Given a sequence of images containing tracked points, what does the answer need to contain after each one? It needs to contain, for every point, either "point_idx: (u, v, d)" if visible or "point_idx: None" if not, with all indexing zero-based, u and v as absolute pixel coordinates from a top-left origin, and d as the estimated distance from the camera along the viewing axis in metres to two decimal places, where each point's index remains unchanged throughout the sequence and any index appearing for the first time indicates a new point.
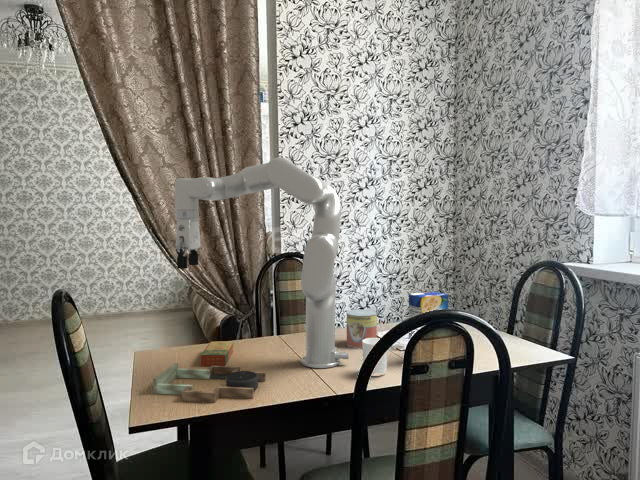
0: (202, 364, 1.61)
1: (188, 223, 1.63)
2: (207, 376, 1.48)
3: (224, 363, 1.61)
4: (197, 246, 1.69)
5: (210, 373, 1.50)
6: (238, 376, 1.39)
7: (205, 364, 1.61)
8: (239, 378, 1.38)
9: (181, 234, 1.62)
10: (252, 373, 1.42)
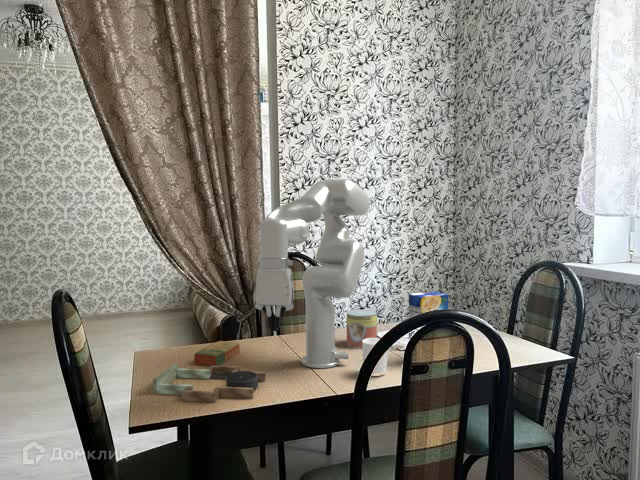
0: (195, 363, 1.62)
1: None
2: (207, 376, 1.48)
3: (215, 364, 1.60)
4: None
5: (210, 373, 1.50)
6: (238, 376, 1.39)
7: (198, 363, 1.62)
8: (239, 378, 1.38)
9: (292, 286, 1.37)
10: (252, 373, 1.42)
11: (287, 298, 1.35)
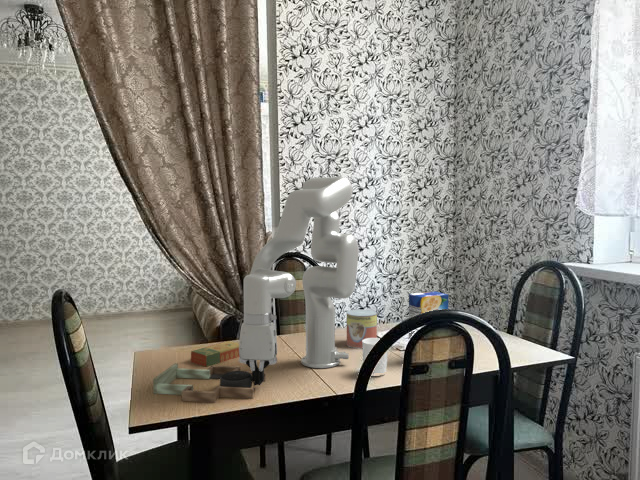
0: (192, 360, 1.65)
1: None
2: (207, 376, 1.48)
3: (205, 364, 1.60)
4: None
5: (210, 373, 1.50)
6: (232, 376, 1.39)
7: (193, 361, 1.64)
8: (234, 378, 1.38)
9: (275, 340, 1.39)
10: (246, 373, 1.42)
11: (270, 353, 1.37)
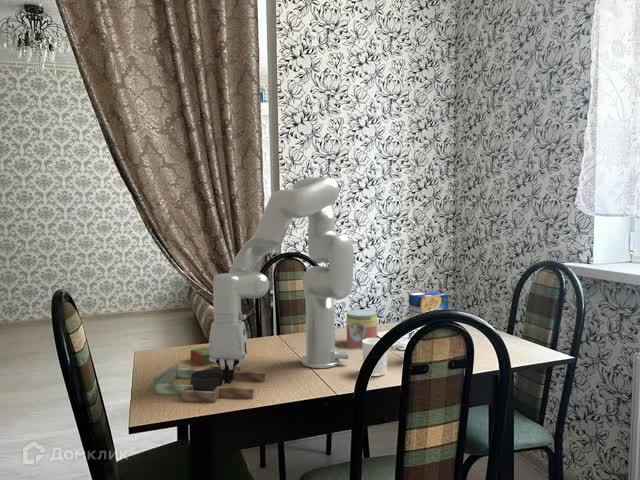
0: (191, 359, 1.66)
1: None
2: None
3: (201, 363, 1.61)
4: None
5: None
6: (203, 374, 1.40)
7: (192, 360, 1.65)
8: (204, 376, 1.39)
9: (245, 339, 1.40)
10: (217, 371, 1.43)
11: (240, 352, 1.38)
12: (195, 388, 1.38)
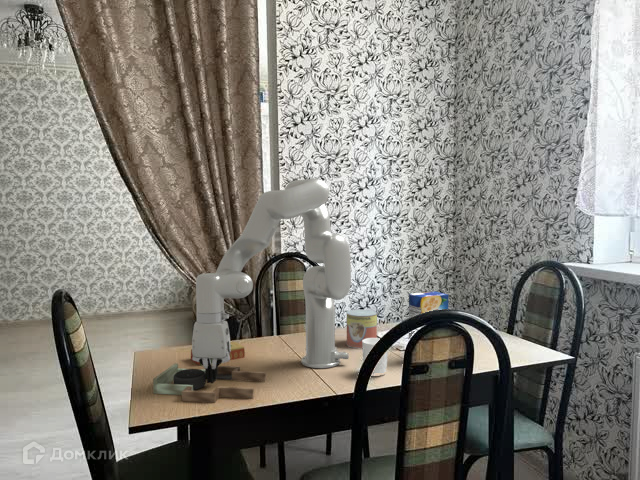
0: (191, 358, 1.67)
1: None
2: None
3: (199, 363, 1.61)
4: None
5: None
6: (186, 374, 1.41)
7: None
8: (187, 376, 1.40)
9: (227, 339, 1.41)
10: (200, 371, 1.44)
11: (222, 351, 1.39)
12: None
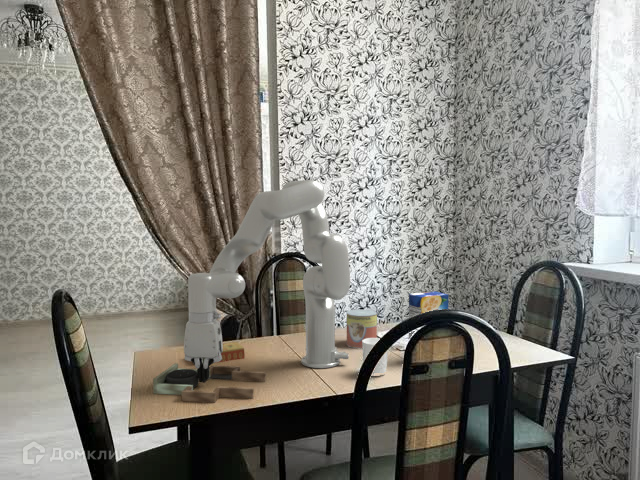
0: None
1: None
2: None
3: None
4: None
5: (210, 373, 1.50)
6: (178, 374, 1.42)
7: None
8: (179, 376, 1.40)
9: (219, 338, 1.41)
10: (192, 371, 1.44)
11: (214, 351, 1.39)
12: None
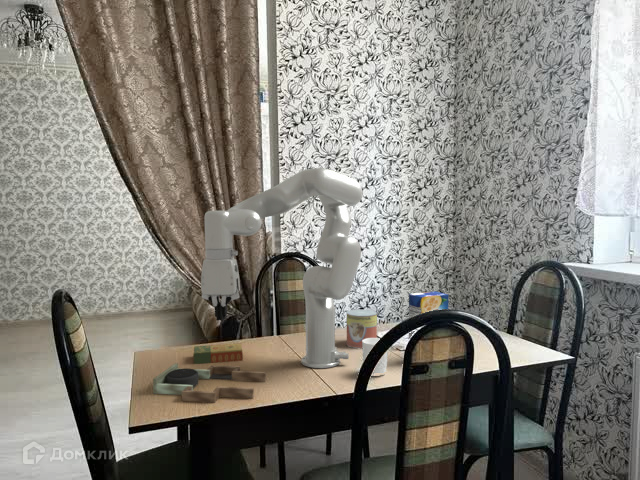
0: None
1: None
2: (207, 376, 1.48)
3: (193, 361, 1.64)
4: None
5: (210, 373, 1.50)
6: (178, 374, 1.42)
7: None
8: (179, 375, 1.40)
9: (237, 276, 1.40)
10: (192, 370, 1.44)
11: (232, 288, 1.38)
12: None
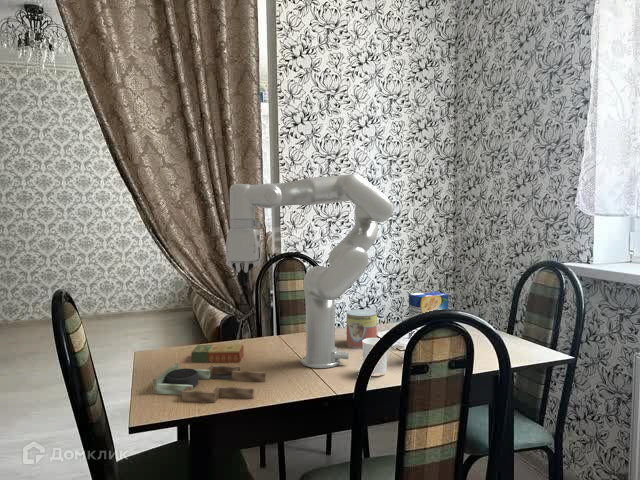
0: None
1: None
2: (207, 376, 1.48)
3: (191, 359, 1.65)
4: None
5: (210, 373, 1.50)
6: (178, 374, 1.42)
7: None
8: (179, 375, 1.40)
9: (259, 244, 1.52)
10: (192, 370, 1.44)
11: (254, 255, 1.50)
12: None
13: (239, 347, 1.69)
